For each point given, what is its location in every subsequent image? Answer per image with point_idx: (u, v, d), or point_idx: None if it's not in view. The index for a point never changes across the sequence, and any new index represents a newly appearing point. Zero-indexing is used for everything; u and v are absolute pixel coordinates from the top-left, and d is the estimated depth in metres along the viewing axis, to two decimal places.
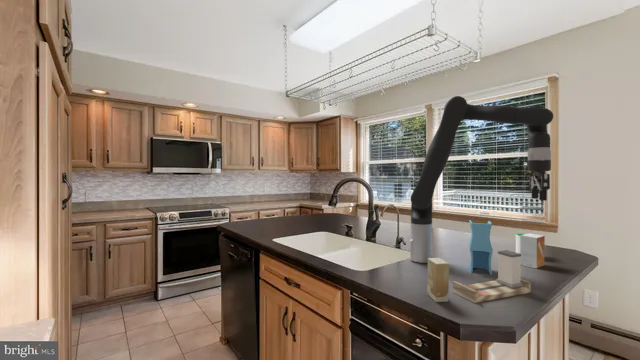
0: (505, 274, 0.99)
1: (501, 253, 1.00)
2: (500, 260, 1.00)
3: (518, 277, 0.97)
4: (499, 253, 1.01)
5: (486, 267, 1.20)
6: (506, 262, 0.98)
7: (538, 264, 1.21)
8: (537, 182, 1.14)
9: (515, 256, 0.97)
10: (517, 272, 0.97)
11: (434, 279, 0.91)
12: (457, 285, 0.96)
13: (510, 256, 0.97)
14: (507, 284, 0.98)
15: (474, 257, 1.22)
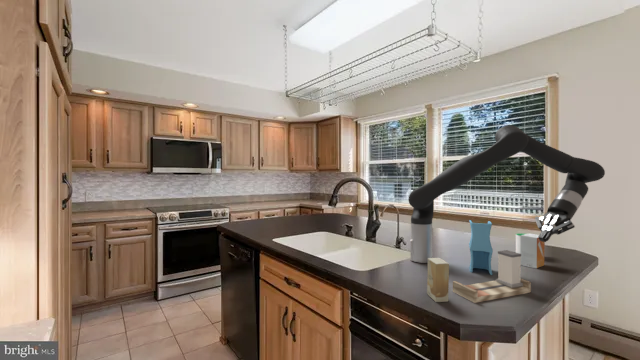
0: (505, 274, 0.99)
1: (501, 253, 1.00)
2: (500, 260, 1.00)
3: (518, 277, 0.97)
4: (499, 253, 1.01)
5: (486, 267, 1.20)
6: (506, 262, 0.98)
7: (538, 264, 1.21)
8: None
9: (515, 256, 0.97)
10: (517, 272, 0.97)
11: (434, 279, 0.91)
12: (457, 285, 0.96)
13: (510, 256, 0.97)
14: (507, 284, 0.98)
15: (474, 257, 1.22)
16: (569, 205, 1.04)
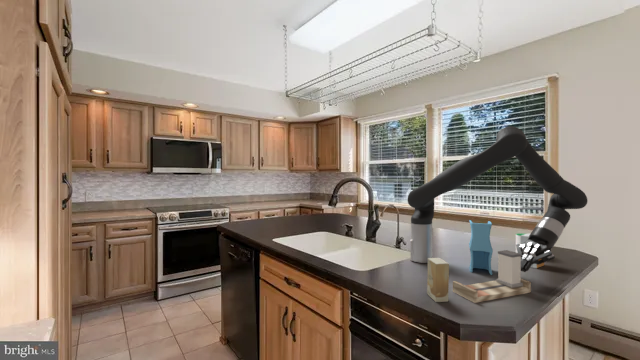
0: (505, 274, 0.99)
1: (501, 253, 1.00)
2: (500, 260, 1.00)
3: (518, 277, 0.97)
4: (499, 253, 1.01)
5: (486, 267, 1.20)
6: (506, 262, 0.98)
7: None
8: None
9: (515, 256, 0.97)
10: (517, 272, 0.97)
11: (434, 279, 0.91)
12: (457, 285, 0.96)
13: (510, 256, 0.97)
14: (507, 284, 0.98)
15: (474, 257, 1.22)
16: (550, 234, 1.01)
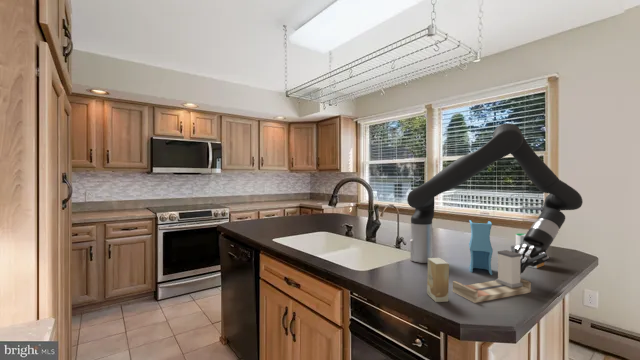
0: (504, 274, 0.99)
1: (501, 253, 1.00)
2: (500, 260, 1.00)
3: (517, 277, 0.97)
4: (499, 253, 1.01)
5: (486, 267, 1.20)
6: (506, 262, 0.98)
7: None
8: None
9: (515, 256, 0.97)
10: (517, 272, 0.97)
11: (434, 279, 0.91)
12: (457, 285, 0.96)
13: (509, 257, 0.97)
14: (507, 284, 0.98)
15: (474, 257, 1.22)
16: (545, 235, 1.00)
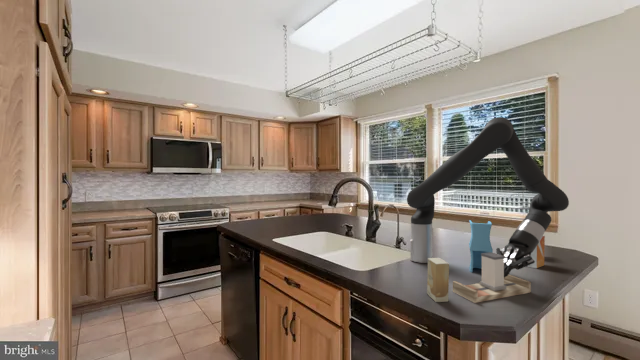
0: (488, 277, 0.97)
1: (484, 255, 0.98)
2: (483, 262, 0.98)
3: (501, 280, 0.95)
4: (482, 255, 0.98)
5: None
6: (489, 264, 0.96)
7: (538, 264, 1.21)
8: None
9: (498, 258, 0.95)
10: (500, 275, 0.95)
11: (434, 279, 0.91)
12: (457, 285, 0.96)
13: (493, 259, 0.95)
14: (490, 287, 0.95)
15: (474, 257, 1.22)
16: (530, 238, 0.97)
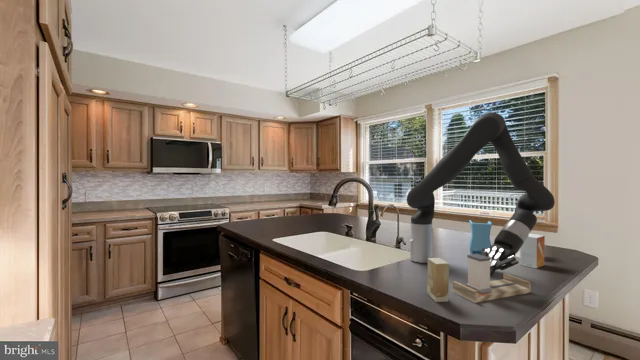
0: (474, 279, 0.95)
1: (470, 257, 0.96)
2: (469, 264, 0.96)
3: (487, 282, 0.93)
4: (468, 257, 0.97)
5: None
6: (475, 266, 0.94)
7: (538, 264, 1.21)
8: None
9: (484, 260, 0.93)
10: (486, 277, 0.93)
11: (434, 279, 0.91)
12: (457, 285, 0.96)
13: (478, 261, 0.93)
14: (476, 289, 0.93)
15: None
16: (514, 238, 0.96)
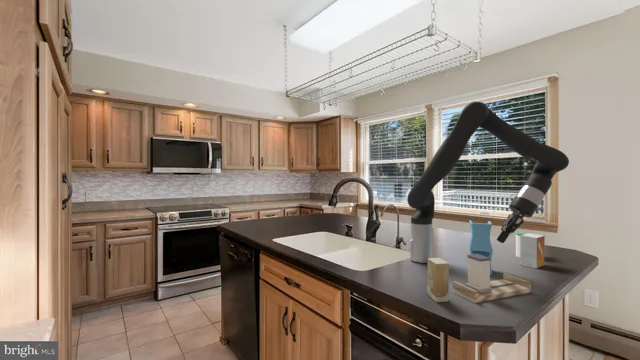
0: (473, 279, 0.95)
1: (470, 257, 0.96)
2: (469, 264, 0.96)
3: (487, 282, 0.93)
4: (468, 257, 0.96)
5: None
6: (475, 266, 0.94)
7: (538, 264, 1.21)
8: None
9: (484, 260, 0.93)
10: (486, 277, 0.93)
11: (434, 279, 0.91)
12: (457, 285, 0.96)
13: (478, 261, 0.93)
14: (476, 289, 0.93)
15: None
16: (521, 201, 1.01)
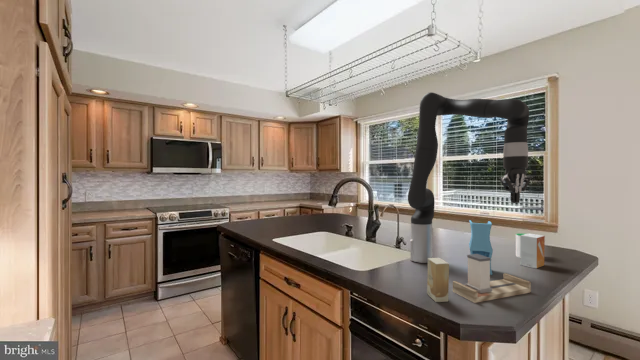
0: (473, 279, 0.95)
1: (470, 257, 0.96)
2: (469, 264, 0.96)
3: (487, 282, 0.93)
4: (468, 257, 0.96)
5: None
6: (475, 266, 0.94)
7: (538, 264, 1.21)
8: (523, 183, 1.05)
9: (484, 260, 0.93)
10: (486, 277, 0.93)
11: (434, 279, 0.91)
12: (457, 285, 0.96)
13: (478, 261, 0.93)
14: (476, 289, 0.93)
15: None
16: (503, 160, 1.07)
